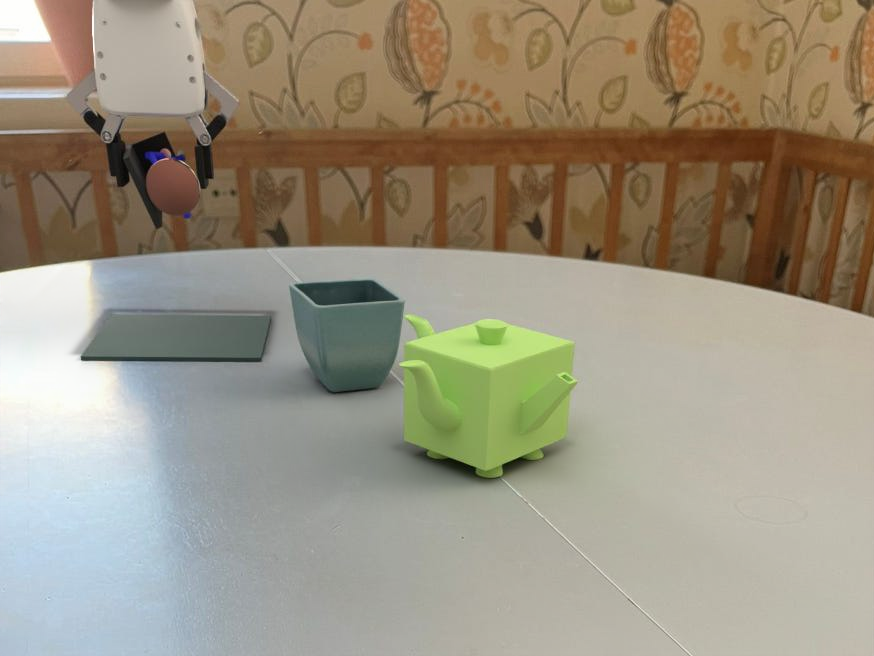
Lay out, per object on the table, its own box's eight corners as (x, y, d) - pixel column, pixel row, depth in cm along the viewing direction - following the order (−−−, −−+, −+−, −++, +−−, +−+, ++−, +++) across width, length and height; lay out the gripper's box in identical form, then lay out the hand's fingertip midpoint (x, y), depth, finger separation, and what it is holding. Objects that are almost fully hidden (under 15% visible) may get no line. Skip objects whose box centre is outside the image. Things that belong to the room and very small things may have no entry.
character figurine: (200, 208, 115) (200, 238, 103) (131, 202, 113) (122, 231, 101) (199, 130, 111) (199, 151, 99) (127, 122, 109) (118, 143, 97)
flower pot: (406, 393, 101) (407, 298, 97) (319, 403, 98) (315, 306, 93) (374, 366, 108) (373, 276, 103) (292, 375, 105) (287, 282, 100)
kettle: (399, 489, 82) (399, 347, 76) (392, 425, 94) (391, 298, 88) (586, 487, 84) (600, 348, 78) (556, 425, 96) (566, 300, 90)
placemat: (81, 360, 106) (80, 356, 106) (111, 317, 120) (111, 313, 119) (261, 361, 108) (260, 357, 108) (271, 319, 121) (271, 315, 121)
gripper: (239, -16, 101) (253, 182, 110) (52, -25, 99) (83, 177, 108) (232, -16, 95) (248, 194, 104) (32, -25, 93) (66, 190, 102)
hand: (163, 184), depth 106 cm, fingers closed on character figurine, 7 cm apart
